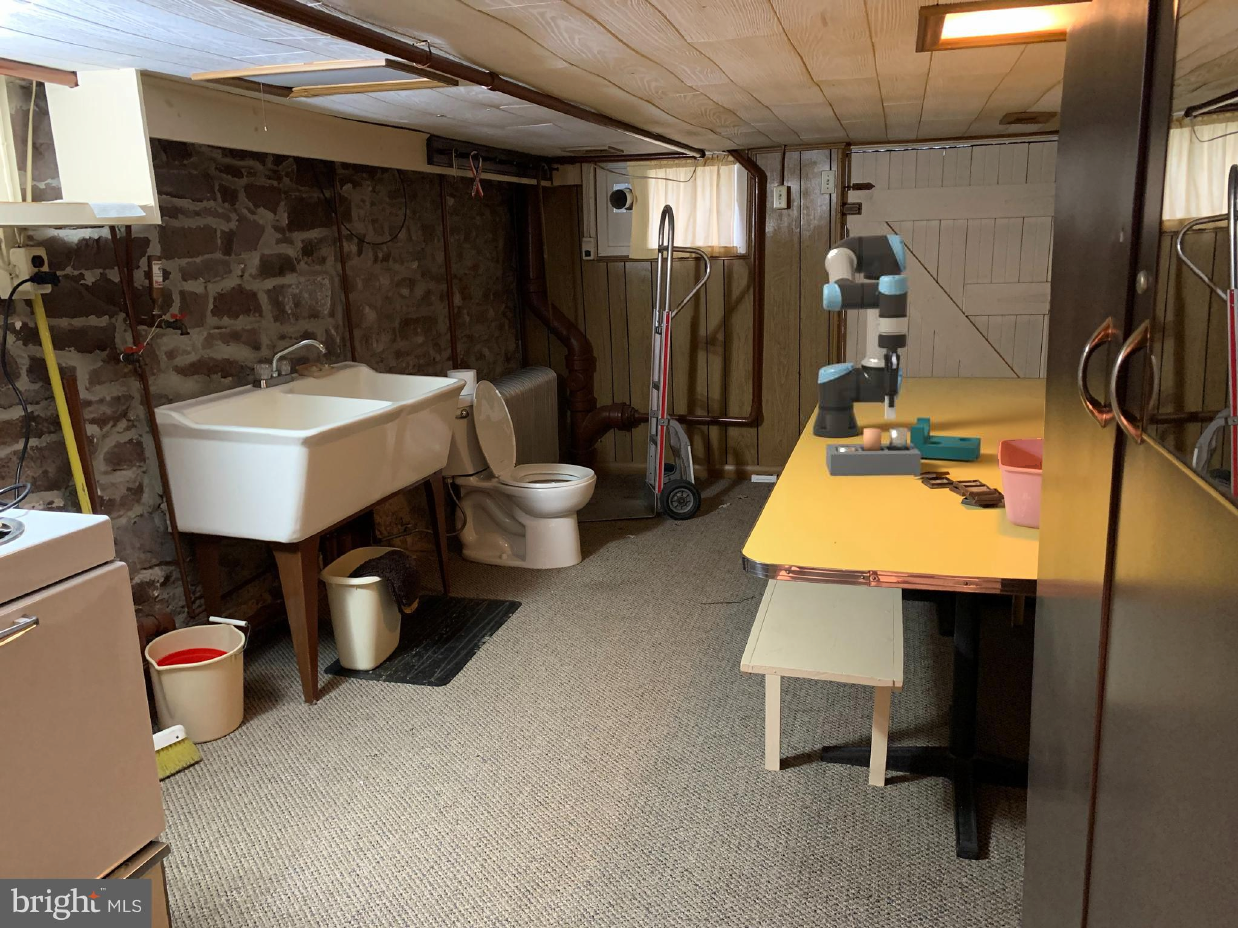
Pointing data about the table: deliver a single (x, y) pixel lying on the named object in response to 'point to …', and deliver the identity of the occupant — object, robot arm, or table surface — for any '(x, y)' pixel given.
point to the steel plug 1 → (846, 448)
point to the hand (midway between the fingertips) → (890, 418)
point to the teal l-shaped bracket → (943, 443)
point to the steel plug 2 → (898, 439)
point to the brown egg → (872, 439)
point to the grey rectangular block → (872, 461)
